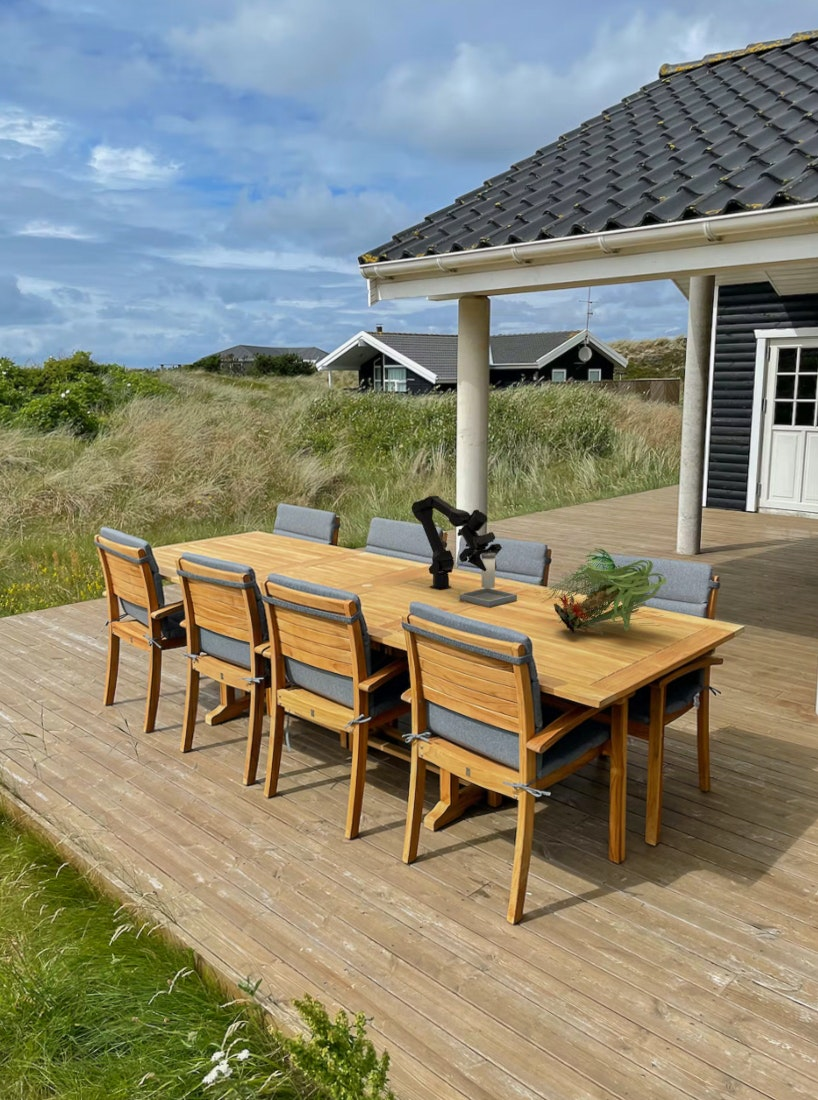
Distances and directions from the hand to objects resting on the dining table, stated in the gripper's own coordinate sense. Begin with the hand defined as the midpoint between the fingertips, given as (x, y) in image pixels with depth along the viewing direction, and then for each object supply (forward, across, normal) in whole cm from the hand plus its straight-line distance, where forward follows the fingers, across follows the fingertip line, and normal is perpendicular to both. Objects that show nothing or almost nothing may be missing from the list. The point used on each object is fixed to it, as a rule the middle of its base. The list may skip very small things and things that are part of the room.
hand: (490, 569), depth 338 cm
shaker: (+4, 0, +6) cm, 7 cm away
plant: (+46, +1, -28) cm, 53 cm away
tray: (+8, 0, +10) cm, 13 cm away
